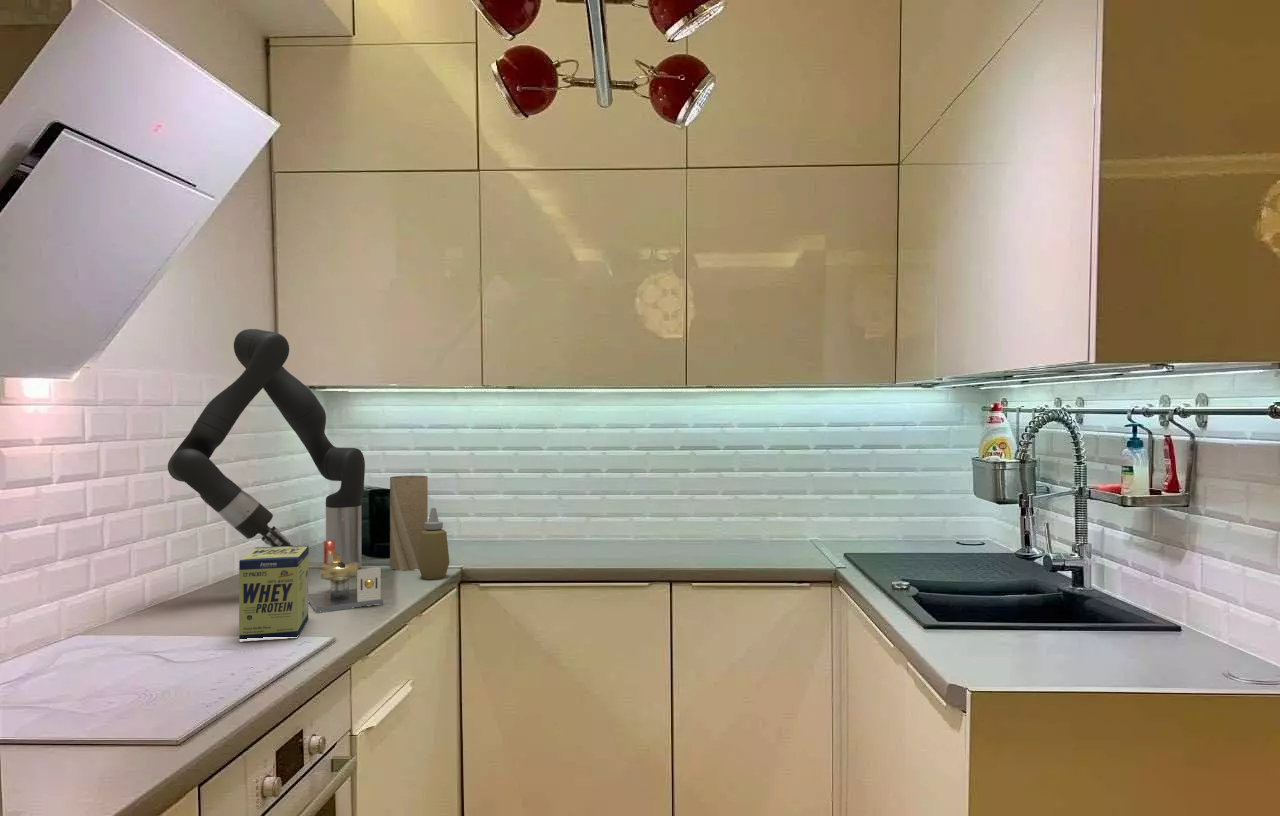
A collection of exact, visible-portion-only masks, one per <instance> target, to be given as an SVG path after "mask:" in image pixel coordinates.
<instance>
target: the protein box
mask: <svg viewBox="0 0 1280 816" xmlns="http://www.w3.org/2000/svg"><path fill="white" fill-rule="evenodd" d="M309 547H310V546H309V545H293V546H281V547H271V546H260V547H259V546H258V547H254V548H253V549H252V550H251V551H250V552H249V553H247V554H246V555H245V556H244V557H242V558H241V559H239V560H238V562H239V564H238V566H239V567H238V568H239V569H238V570H239V571H238V576H239V577H238V578H239V579H238V584H239V585H238V587H239V588H238V590H239V591H238V592H239V593H238V594H239V597H238V601H239V602H238V617H239V618H238V623H239V624H238V627H239V628H238V629H239V630H238V632H239V633H238V634H239V635H238V637H239V638H238V639H247V638H263V637H297V636H298V635H299V636H300V634H301V633H302V631H303V629H304V628H305V626H304V625H306V624H307V622H308V620H309V602H308V595H309V594H310V593H309V592H310V591H309V563H310V562H309V560H310V559H309V557H310V556H309V555H310V553H309V550H310V549H309ZM305 623H306V624H305ZM301 630H302V631H301ZM300 632H301V633H300ZM299 636H298V637H299Z"/></svg>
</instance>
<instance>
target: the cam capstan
mask: <svg viewBox="0 0 1280 816" xmlns="http://www.w3.org/2000/svg"><path fill="white" fill-rule="evenodd" d="M357 569H358V563H356V562H341V556H340V555H339V554H338V553H337V552H336V551H335V540H328V541H326V540H323V564H322V565H320V579H322V580H326V581H327V580H328V581H330V580H342V579H349V580H350V579H354V578H356V570H357Z"/></svg>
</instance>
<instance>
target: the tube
mask: <svg viewBox="0 0 1280 816" xmlns="http://www.w3.org/2000/svg"><path fill="white" fill-rule="evenodd" d="M428 479H429V478H428V475H427V476H426V475H396V476H391V477H390V478H389V513H390V514H389V529H390V530H389V569H390V568H391V569H390V570H392V569H395V570H394V571H397V570H411V571H416V570H415V569H419V567H418V555H419V545H420V535H421V532H422V531H424V530H426V529H424V523H425V522H428V521H429V517H428V513H429V512H428V511H429V508H428V506H429V505H428V504H429V503H428V499H429V498H428V496H429V495H428V491H429V490H428V488H429V487H428V486H429V484H428Z"/></svg>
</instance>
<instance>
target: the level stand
mask: <svg viewBox="0 0 1280 816" xmlns="http://www.w3.org/2000/svg"><path fill="white" fill-rule="evenodd" d="M381 569H382V568H381V567H380V566H378V567H377V566H376V567H369V568H368V567H367V568H359V569H357V570H356V577H355V587H356V588H353V589H351V588H350V578H349V579H342V580H329V582H330V583H329V584H330V586H329V590H330V591H326V592H325V591H324V592H316V593H309V595H308V601H309V602H310V603H309V602H308V603H309V605H310V604H311V605H312V606H313V608H314V609H315V610H314V609H313V608H312V609H313V610H314V612H315V611H316V612H320V611H321V612H320V613H323V612H322V611H328V612H332V611H331V610H336V611H340V610H339V609H344V610H347V609H346V608H352V607H360V606H367V605H374V604H383V605H384V599H383V598H382V597H381V596H382V595H381V594H382V593H381V589H382V587H381V582H382V581H381V577H382V576H381V575H382V574H381ZM311 605H310V606H311ZM312 606H311V607H312ZM360 608H361V607H360ZM352 609H353V608H352ZM316 612H315V613H316Z"/></svg>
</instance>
